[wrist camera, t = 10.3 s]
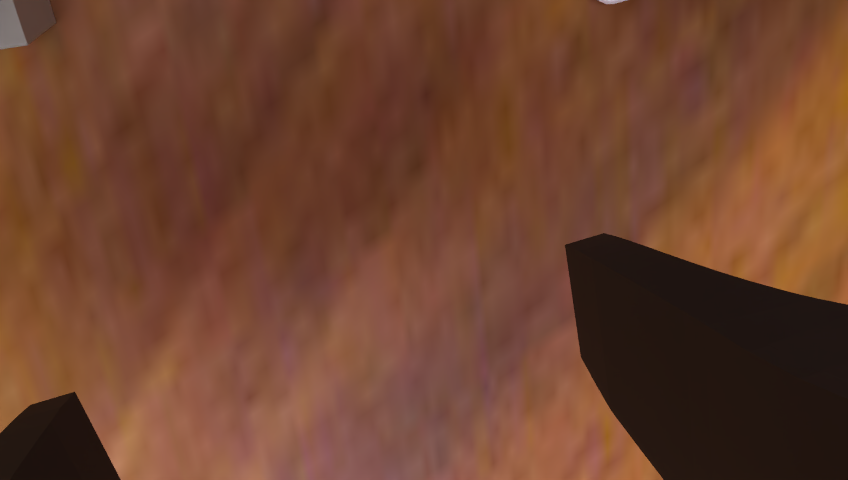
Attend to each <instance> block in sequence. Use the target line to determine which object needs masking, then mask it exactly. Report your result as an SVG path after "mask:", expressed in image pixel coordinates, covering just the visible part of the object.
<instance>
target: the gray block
mask: <svg viewBox="0 0 848 480" xmlns="http://www.w3.org/2000/svg"><path fill="white" fill-rule="evenodd" d="M55 23H56V20H55V17H54V13H53V10H52V7H51V4H50V1H49V0H0V49H6V48H13V47H19V46H26V45H29V44H30V43H31V42H32V41H34V40H35V39H36V38H38V37H39V36H40V35H41V34H43V33H44V32H45V31H46V30H48V29H49V28H50V27H51V26H53V25H54V24H55Z"/></svg>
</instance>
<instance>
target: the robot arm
mask: <svg viewBox="0 0 848 480" xmlns="http://www.w3.org/2000/svg"><path fill="white" fill-rule="evenodd" d="M597 1H600V2H602V3H605V4H615V3H619V2H623V1H627V0H597ZM565 248H566V255H567V262H568V269H569V276H570V283H571V290H572V297H573V304H574V311H575V318H576V325H577V332H578V339H579V346H580V353H581V358H582V360H583V361H584V363H585V365H586V367H587V369H588V371H589V372H590V374H591V376H592V378H593V380H594V382H595V383H596V385H597V387H598V389H599V390H600V392H601V394H602V396H603V397H604V399H605V401H606V402H607V404H608V406H609V408H610V409H611V411H612V412H613V413H614V415H615V416H616V417H617V419H618V420H619V422H620V423H621V424H622V426H623V427H624V428H625V429H626V431H627V432H628V433H629V435H630V436H631V437H632V439H633V440H634V441H635V443H636V444H637V445H638V447H639V448H640V449H641V451H642V452H643V453H644V455H645V456H646V457H647V458H648V460H649V461H650V462H651V464H652V465H653V466H654V468H655V469H656V470H657V471H658V473H659V474H660V475H661V477H662V478H663V479H664V480H848V305H846V304H841V303H836V302H831V301H826V300H821V299H816V298H812V297H808V296H804V295H799V294H795V293H791V292H787V291H784V290H780V289H776V288H773V287H769V286H766V285H762V284H758V283H755V282H751V281H747V280H744V279H741V278H738V277H734V276H731V275H728V274H725V273H722V272H719V271H715V270H712V269H709V268H706V267H703V266H700V265H697V264H694V263H691V262H689V261H686V260H683V259H680V258H677V257H674V256H671V255H669V254H666V253H663V252H660V251H657V250H654V249H652V248H649V247H646V246H643V245H640V244H637V243H634V242H631V241H629V240H625V239H622V238H619V237H616V236H612V235H608V234H604V233H603V234H600V235H597V236H593V237H590V238H587V239H583V240H580V241H577V242H573V243H570V244H566V245H565ZM0 480H120V478H119V476H118V474H117V472H116V470H115V468H114V466H113V464H112V462H111V460H110V459H109V457H108V455H107V453H106V451H105V449H104V447H103V445H102V443H101V441H100V439H99V437H98V435H97V434H96V432H95V430H94V428H93V426H92V424H91V422H90V420H89V418H88V416H87V414H86V412H85V410H84V409H83V407H82V405H81V403H80V401H79V399H78V397H77V395H76V393H75V392H72V393H69V394H66V395H62V396H59V397H56V398H52V399H49V400H46V401H42V402H39V403H36V404H32V405H30V406H29V407H28V408H26V409H25V410H24V411H23V412H22V413H21V414H20V415H18V416H17V417H16V418H15V419H14V420H13V421H12V422H11V423H10V424H9V425H8V426H7V427H6V428H5V429H4V430H3V431H2V432H1V433H0Z"/></svg>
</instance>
